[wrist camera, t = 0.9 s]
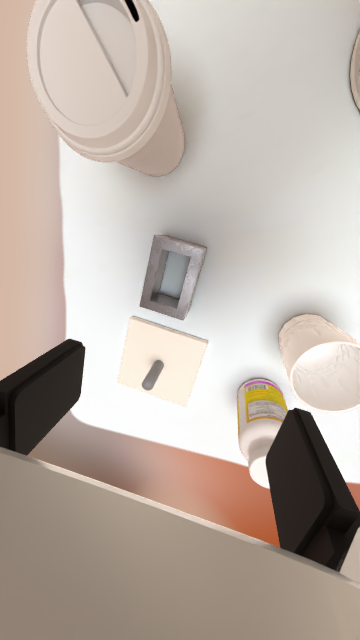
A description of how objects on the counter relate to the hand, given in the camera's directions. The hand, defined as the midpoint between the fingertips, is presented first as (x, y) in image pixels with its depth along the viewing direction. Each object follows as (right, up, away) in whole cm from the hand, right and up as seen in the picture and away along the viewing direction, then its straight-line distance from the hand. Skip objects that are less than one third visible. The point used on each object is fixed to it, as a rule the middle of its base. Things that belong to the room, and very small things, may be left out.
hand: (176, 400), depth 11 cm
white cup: (+17, +1, +22) cm, 28 cm away
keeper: (-3, -3, +27) cm, 28 cm away
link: (0, +10, +22) cm, 24 cm away
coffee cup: (-2, +24, +18) cm, 30 cm away
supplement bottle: (+12, -8, +26) cm, 30 cm away
